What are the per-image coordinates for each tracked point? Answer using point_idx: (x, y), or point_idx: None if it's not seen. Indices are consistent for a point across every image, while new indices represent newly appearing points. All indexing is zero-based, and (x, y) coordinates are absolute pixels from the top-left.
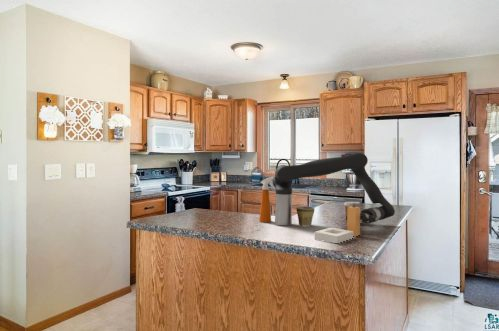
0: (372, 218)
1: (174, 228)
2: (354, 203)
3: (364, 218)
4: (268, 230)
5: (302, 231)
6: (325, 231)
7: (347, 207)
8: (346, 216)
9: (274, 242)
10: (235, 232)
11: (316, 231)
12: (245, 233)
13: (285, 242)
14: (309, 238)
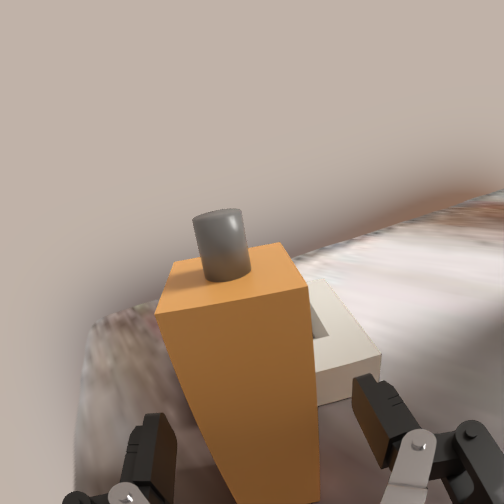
0: (74, 499)
1: (486, 194)
2: (199, 217)
3: (143, 433)
4: (483, 254)
5: (469, 312)
6: (311, 305)
7: (279, 246)
8: (363, 376)
9: (342, 245)
10: (458, 222)
11: (324, 282)
12: (447, 229)
13: (330, 256)
14: (345, 300)
